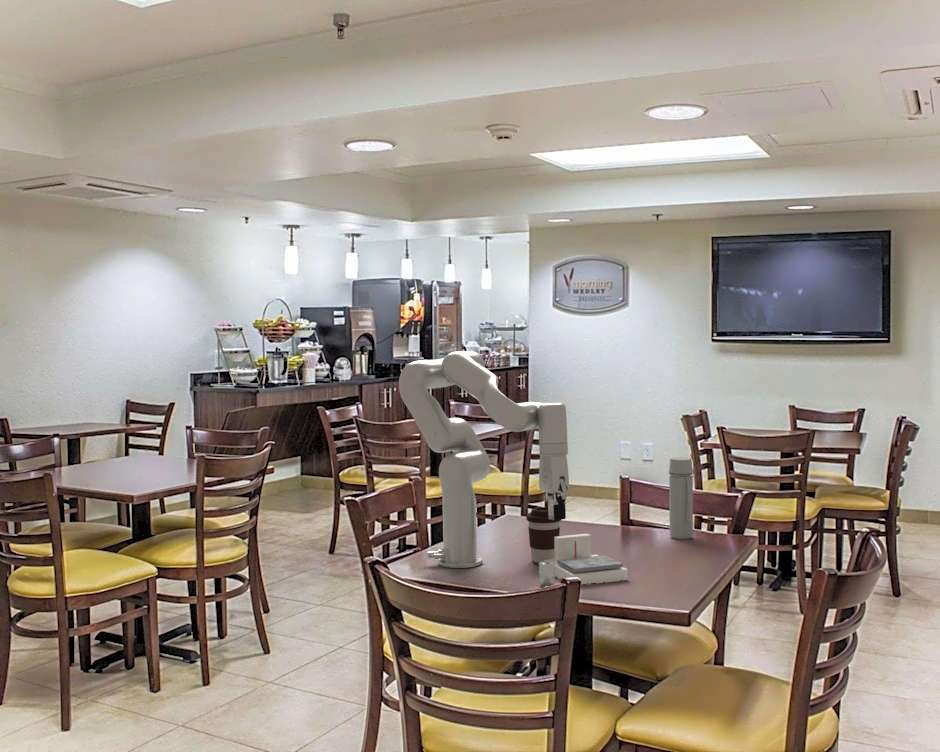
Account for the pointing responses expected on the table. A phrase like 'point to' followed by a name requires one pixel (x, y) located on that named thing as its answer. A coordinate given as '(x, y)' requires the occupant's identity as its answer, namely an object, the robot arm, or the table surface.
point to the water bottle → (681, 498)
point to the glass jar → (551, 506)
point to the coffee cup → (542, 534)
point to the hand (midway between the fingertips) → (556, 517)
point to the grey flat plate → (589, 563)
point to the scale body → (577, 549)
